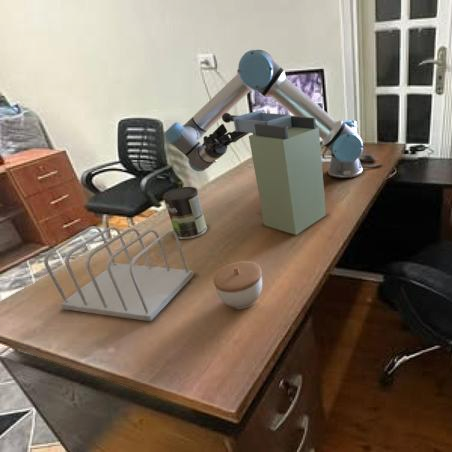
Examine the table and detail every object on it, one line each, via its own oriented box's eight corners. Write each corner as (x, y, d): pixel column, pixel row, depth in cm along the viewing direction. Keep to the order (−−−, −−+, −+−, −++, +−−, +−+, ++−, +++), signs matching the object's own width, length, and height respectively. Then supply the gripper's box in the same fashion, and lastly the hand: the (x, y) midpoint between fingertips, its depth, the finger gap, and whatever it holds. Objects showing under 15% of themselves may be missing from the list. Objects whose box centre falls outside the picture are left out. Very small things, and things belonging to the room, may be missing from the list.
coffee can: (184, 242, 110) (171, 202, 104) (169, 233, 117) (157, 194, 110) (213, 229, 117) (203, 190, 110) (198, 221, 123) (187, 184, 117)
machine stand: (326, 215, 121) (317, 116, 105) (295, 235, 110) (281, 128, 94) (295, 206, 129) (283, 114, 113) (263, 224, 118) (245, 124, 102)
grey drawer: (293, 126, 110) (291, 112, 108) (266, 135, 102) (263, 120, 100) (238, 121, 124) (236, 108, 122) (210, 128, 116) (207, 114, 114)
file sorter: (63, 310, 85) (32, 256, 77) (117, 268, 100) (96, 220, 92) (151, 322, 79) (127, 265, 72) (194, 276, 94) (178, 225, 86)
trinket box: (255, 318, 78) (248, 284, 73) (212, 313, 80) (202, 280, 76) (272, 287, 87) (266, 256, 83) (233, 284, 89) (225, 253, 85)
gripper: (244, 149, 139) (273, 125, 124) (189, 167, 122) (215, 143, 107) (234, 132, 138) (263, 106, 123) (178, 148, 121) (203, 120, 106)
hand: (241, 123), depth 115 cm, fingers open, 13 cm apart
